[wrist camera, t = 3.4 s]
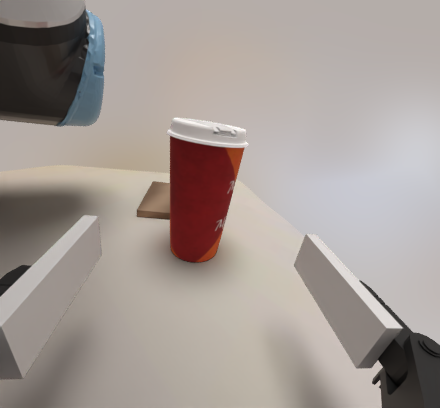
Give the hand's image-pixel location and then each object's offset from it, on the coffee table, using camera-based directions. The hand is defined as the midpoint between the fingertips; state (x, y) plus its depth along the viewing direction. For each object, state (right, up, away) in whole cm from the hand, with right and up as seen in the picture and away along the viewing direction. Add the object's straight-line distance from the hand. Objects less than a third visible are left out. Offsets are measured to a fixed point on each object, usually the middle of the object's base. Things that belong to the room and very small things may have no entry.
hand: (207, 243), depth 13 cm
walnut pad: (-6, +3, +22) cm, 23 cm away
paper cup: (-2, -3, +12) cm, 12 cm away
